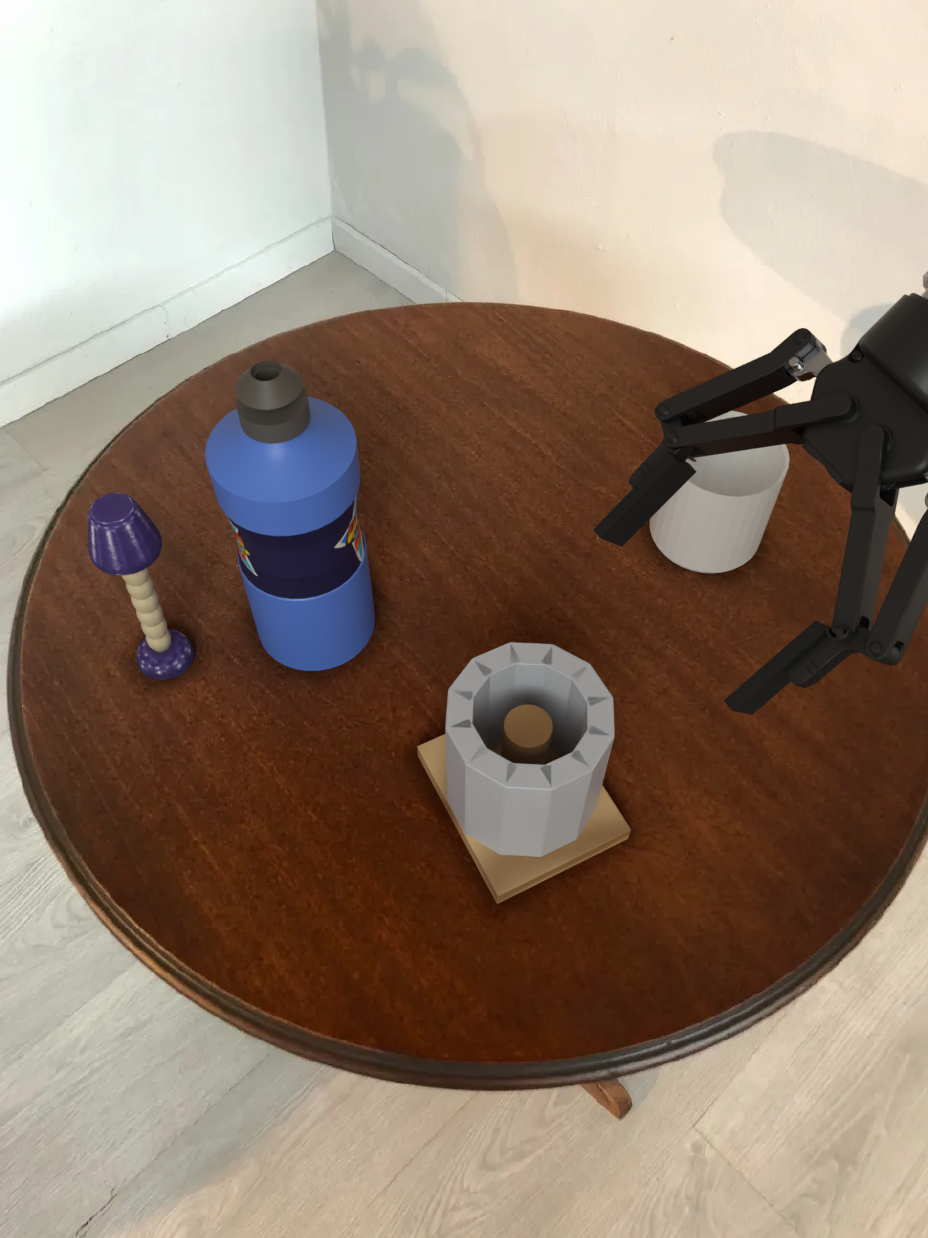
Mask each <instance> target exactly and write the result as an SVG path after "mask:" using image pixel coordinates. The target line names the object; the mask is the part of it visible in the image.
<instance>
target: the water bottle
mask: <svg viewBox="0 0 928 1238" xmlns="http://www.w3.org/2000/svg"><path fill="white" fill-rule="evenodd" d="M303 384H304V382H303V378H302V376H301V374H299V372H298V371H297V370H295V369H294V368H293V367H290V366H288V365H286V364H283V363H280V362H276V361H274V360H270V359H269V360H261V361H258V362H256V363H254V364H253V365H252V366H251V367H250V368H248V369H247V370H246V371H245V372H243V373H242V374H241V375H240V376H239V378H238V379H237V380H236V383H235V387H234V390H235V391H234V392H235V395H236V400H235V407H236V408H234V409H233V410H231V411H230V412H228V413H227V414H226V415H225V416H224V417H222V419H220V420H219V421H218V422H217V423H216V424H215V426H214V428H213V429H212V430H211V432H210V434H209V437H208V439H207V441H206V445H205V450H204V451H205V452H204V456H205V464H206V468H207V471H208V475H209V479H210V481H211V484H212V488H213V492H214V494H215V498H216V501H217V503H218V505H219V508H220V510H222V512H223V513H224V514H225V516H226V517H227V519H228V522H229V524H230V525H231V527H232V530H233V532H234V534H235V537H236V545H237V562H238V568H239V572H240V576H241V579H242V583H243V586H244V590H245V593H246V597H247V600H248V604H249V608H250V611H251V614H252V618H253V621H254V624H255V628H256V631H257V634H258V638H259V641H260V643H261V645H262V647H263V649H264V650H265V651H266V653H267V654H268V655H269V656H270V657H271V658H272V659H273V660H275V661H276V662H278V663H280V664H281V665H283V666H285V667H288V668H291V669H293V670H297V671H304V672H305V671H306V672H319V671H326V670H331V669H333V668H336V667H339V666H341V665H343V664H346V663H347V662H349V661H351V660H353V659H354V658H355V657H356V656H357V655H358V654H360V653H361V652H362V650H363V649H365V647H366V646H367V645H368V643H369V641H370V639H371V637H372V636H373V633H374V629H375V625H376V615H375V614H376V613H375V603H374V596H373V588H372V587H373V585H372V580H371V579H372V578H371V570H370V564H369V556H368V555H369V554H368V547H367V541H366V537H365V532H364V531H363V529H362V527H361V526H362V525H361V523H360V521H359V517H358V513H357V512H358V511H357V510H358V492H359V489H360V486H361V485H360V484H361V467H360V459H359V458H360V457H359V451H358V442H357V437H356V431H355V429H354V427H353V425H352V423H351V421H350V419H349V418H348V417H347V416H346V415H345V413H344V412H342V411H341V410H340V409H338V407H335V406H334V405H333V404H330V403H329V402H327V401H325V400H322V399H320V398H316V397H312V396H309V395H308V392H307V390H306V388H305V387H304V386H303Z"/></svg>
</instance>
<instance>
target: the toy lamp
mask: <svg viewBox="0 0 928 1238" xmlns="http://www.w3.org/2000/svg"><path fill="white" fill-rule="evenodd" d="M89 506H90V507H89V508H88V513H87V550H88V555H89V559H90V561H91V562H92V563H93V565H94V566H95V567H96V568H97V569H98V570H100V571H101V572H103V573H106V574H108V575H110V576H111V575H112V576H121V578H122V579H123V580H124V582H125V588H126V590H127V592H128V594H129V595H130V601H131V605H132V606H133V607H134V609H135V612H136V613H135V614H136V617H137V620H138V621H139V622H140V627H141V631H142V632H143V634H144V635H145V637H144V638H143V639H142V640H141V641H140V643H139V644H138V647H137V650H136V663H137V667H138V669H139V671H140V673H142V674H143V675H144V676H145V677H148V678H150V679H153V680H158V681H164V680H172V679H174V678H177V677H179V676H181V675H182V674H183V673H185V672H186V671H187V670H188V669H189V668H190V667H191V665H192V663H193V661H194V660H195V659H194V658H195V648H194V645H193V643H192V641H191V640H190V639H189V637H187V635H185V634H184V633H182V632H181V631H178V630H176V629H173V628H172V629H171V628H168V622H167V620H166V618H165V617H164V611H163V607H162V606H161V604H160V603H159V596H158V592H157V591H156V590H155V589H154V588H155V587H154V582H153V579H152V578H151V576H150V570H149V567H151V566H152V565H153V564H154V563H155V562H156V561H157V560H158V558H159V557H160V555H161V552H162V548H163V537H162V535H161V532H160V530H159V528H158V527H157V526H156V524H155V523H154V522H153V520H152V519H151V518H150V516H149V515H148V513H146V512H145V510H144V509H143V508H142V506H141V505H140V504H139V503H138V502H137V501H136V500H135V498H133V497H132V496H130V495H128V494H127V493H122V492H109V493H104V494H103V495H101V496H99V497H97V498H96V499H95V500H94V501H93V502H92V503H91V505H89Z"/></svg>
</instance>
